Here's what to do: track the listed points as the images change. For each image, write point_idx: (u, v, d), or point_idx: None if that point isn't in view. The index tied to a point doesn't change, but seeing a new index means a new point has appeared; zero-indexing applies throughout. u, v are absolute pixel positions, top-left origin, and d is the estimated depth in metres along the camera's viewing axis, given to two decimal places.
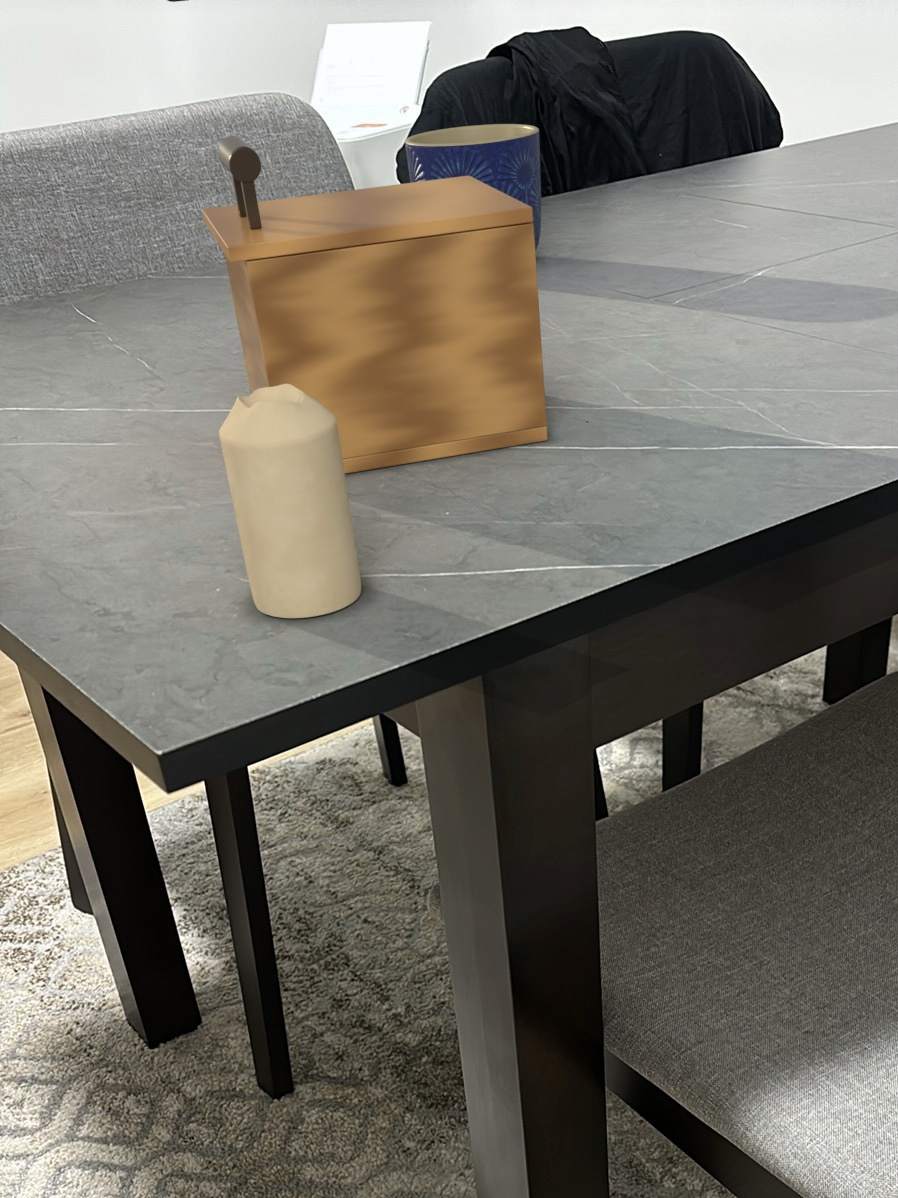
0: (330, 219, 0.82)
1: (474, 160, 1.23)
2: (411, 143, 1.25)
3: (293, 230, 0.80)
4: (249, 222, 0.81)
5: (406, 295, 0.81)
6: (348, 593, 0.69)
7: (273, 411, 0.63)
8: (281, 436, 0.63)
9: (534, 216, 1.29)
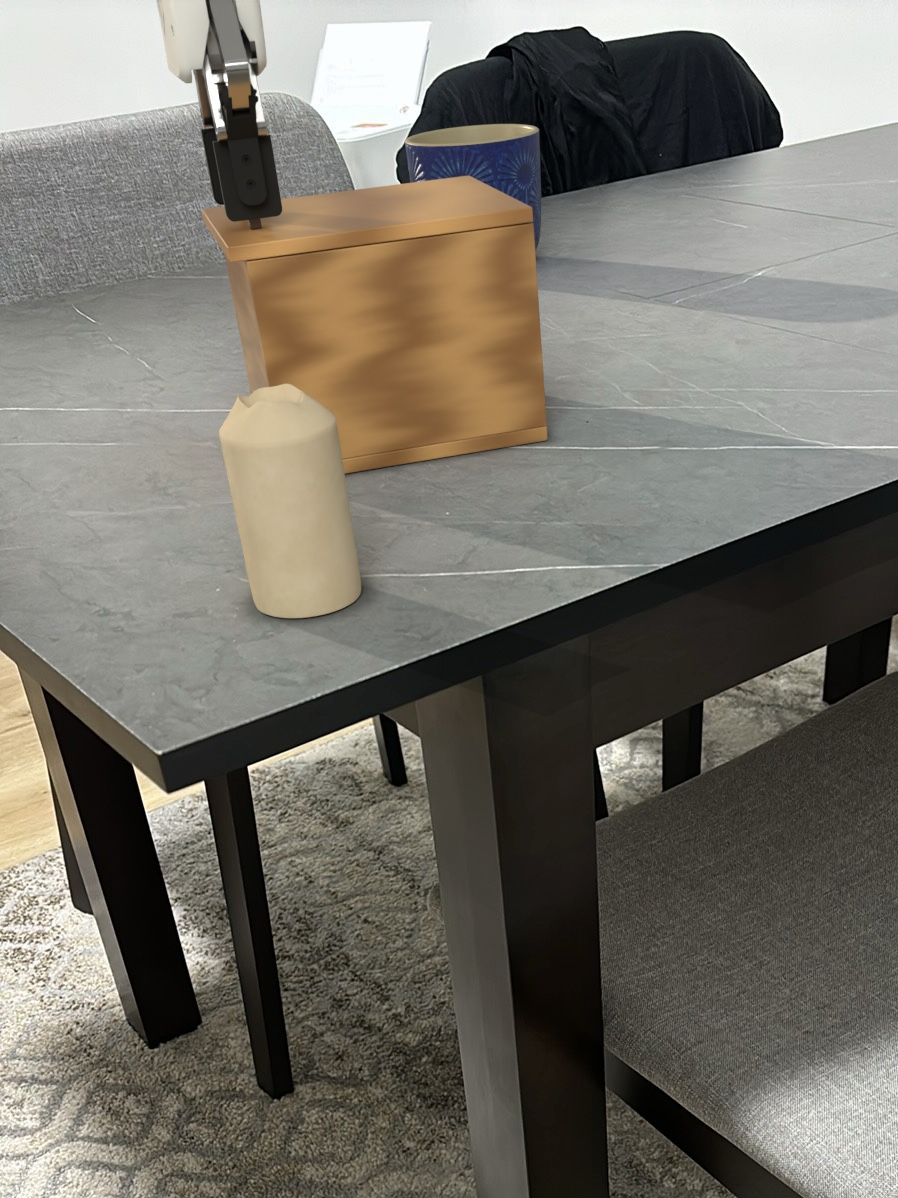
0: (330, 219, 0.82)
1: (474, 160, 1.23)
2: (411, 143, 1.25)
3: (293, 230, 0.80)
4: (249, 222, 0.81)
5: (406, 295, 0.81)
6: (348, 593, 0.69)
7: (273, 411, 0.63)
8: (281, 436, 0.63)
9: (534, 216, 1.29)
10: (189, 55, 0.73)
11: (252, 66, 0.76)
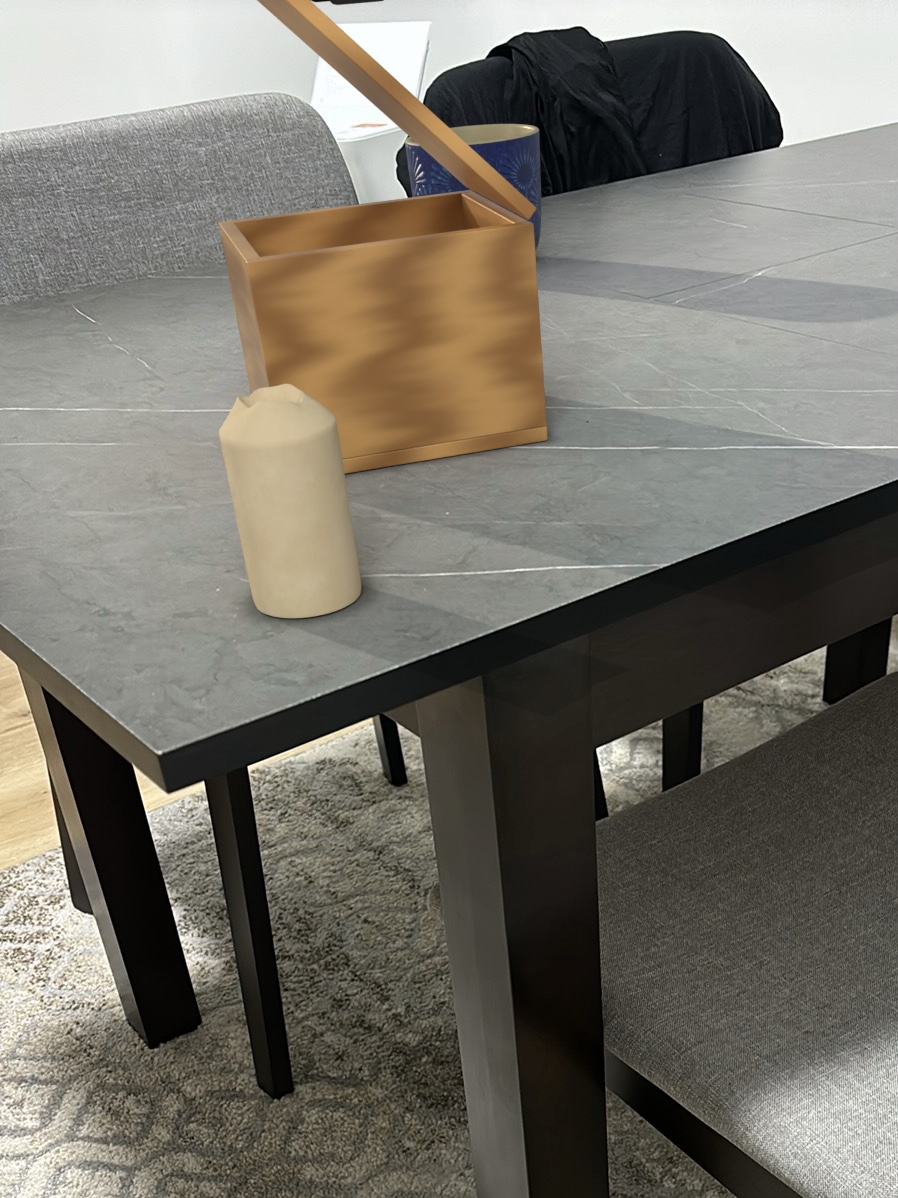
0: None
1: None
2: (411, 143, 1.25)
3: None
4: None
5: (406, 295, 0.81)
6: (348, 593, 0.69)
7: (273, 411, 0.63)
8: (281, 436, 0.63)
9: (534, 216, 1.29)
10: None
11: None
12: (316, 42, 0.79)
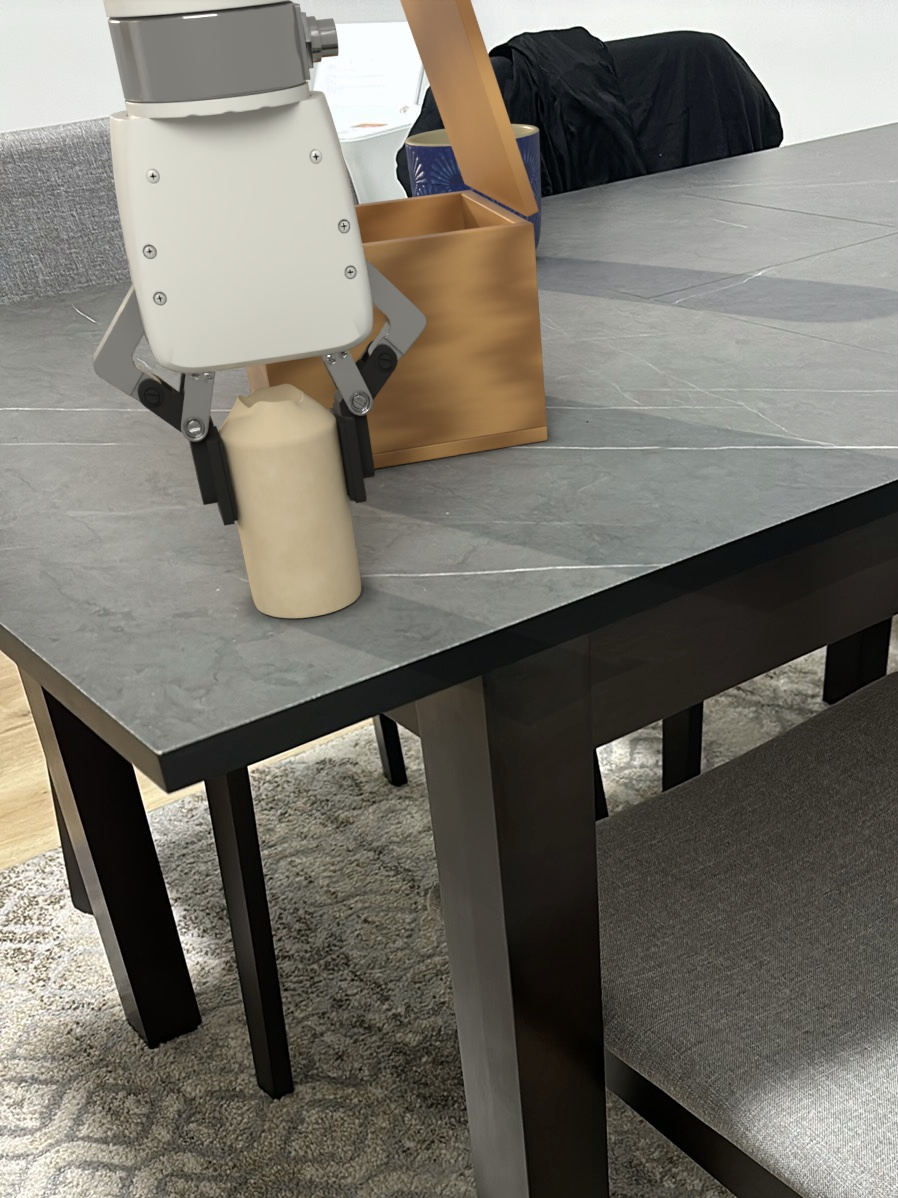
0: None
1: None
2: (411, 143, 1.25)
3: None
4: None
5: (406, 295, 0.81)
6: (348, 593, 0.69)
7: (273, 411, 0.63)
8: (281, 436, 0.63)
9: (534, 216, 1.29)
10: None
11: None
12: None
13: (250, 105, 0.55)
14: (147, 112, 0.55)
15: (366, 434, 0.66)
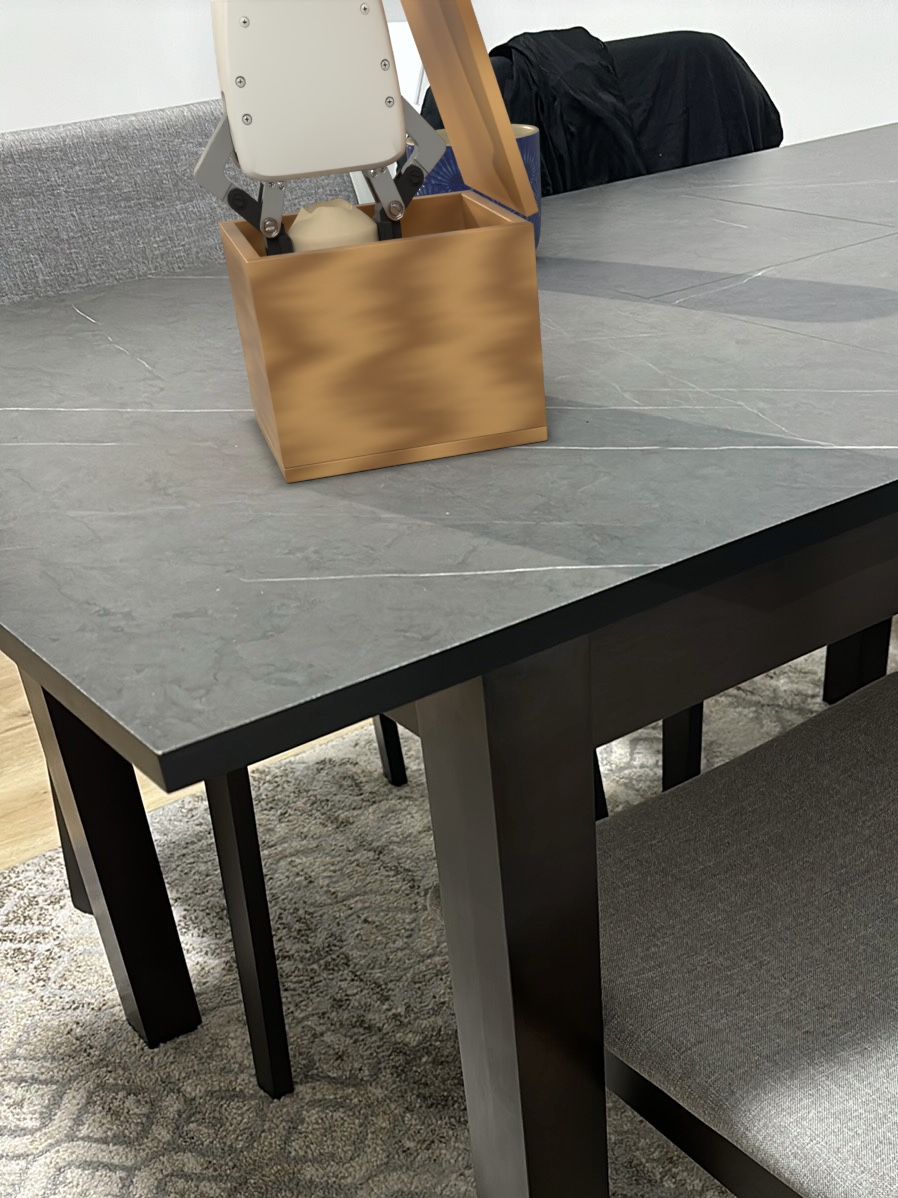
0: None
1: None
2: (411, 143, 1.25)
3: None
4: None
5: (406, 295, 0.81)
6: None
7: (330, 214, 0.82)
8: (336, 233, 0.82)
9: (534, 216, 1.29)
10: None
11: None
12: None
13: None
14: None
15: (400, 237, 0.85)
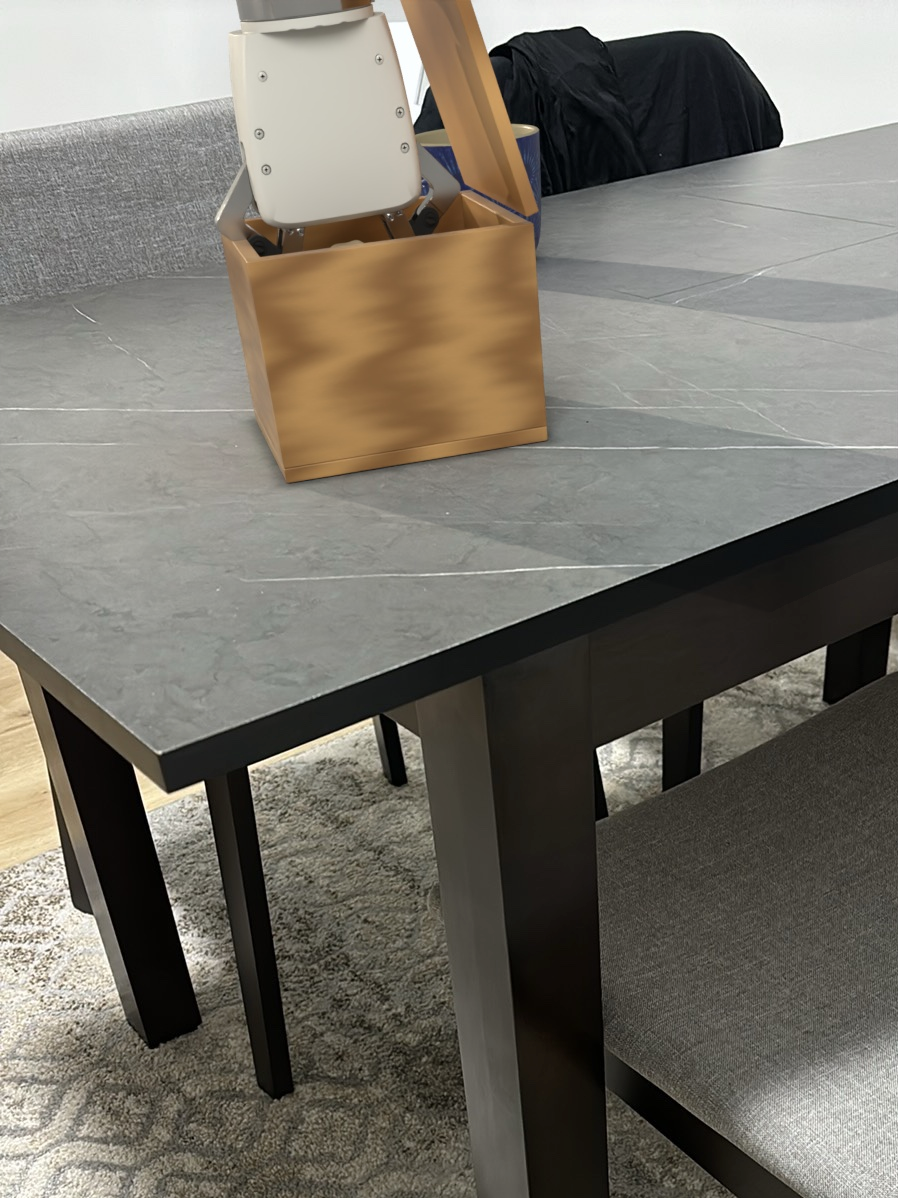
0: None
1: None
2: None
3: None
4: None
5: (406, 295, 0.81)
6: None
7: None
8: None
9: (534, 216, 1.29)
10: None
11: None
12: None
13: (333, 20, 0.76)
14: (259, 28, 0.76)
15: None
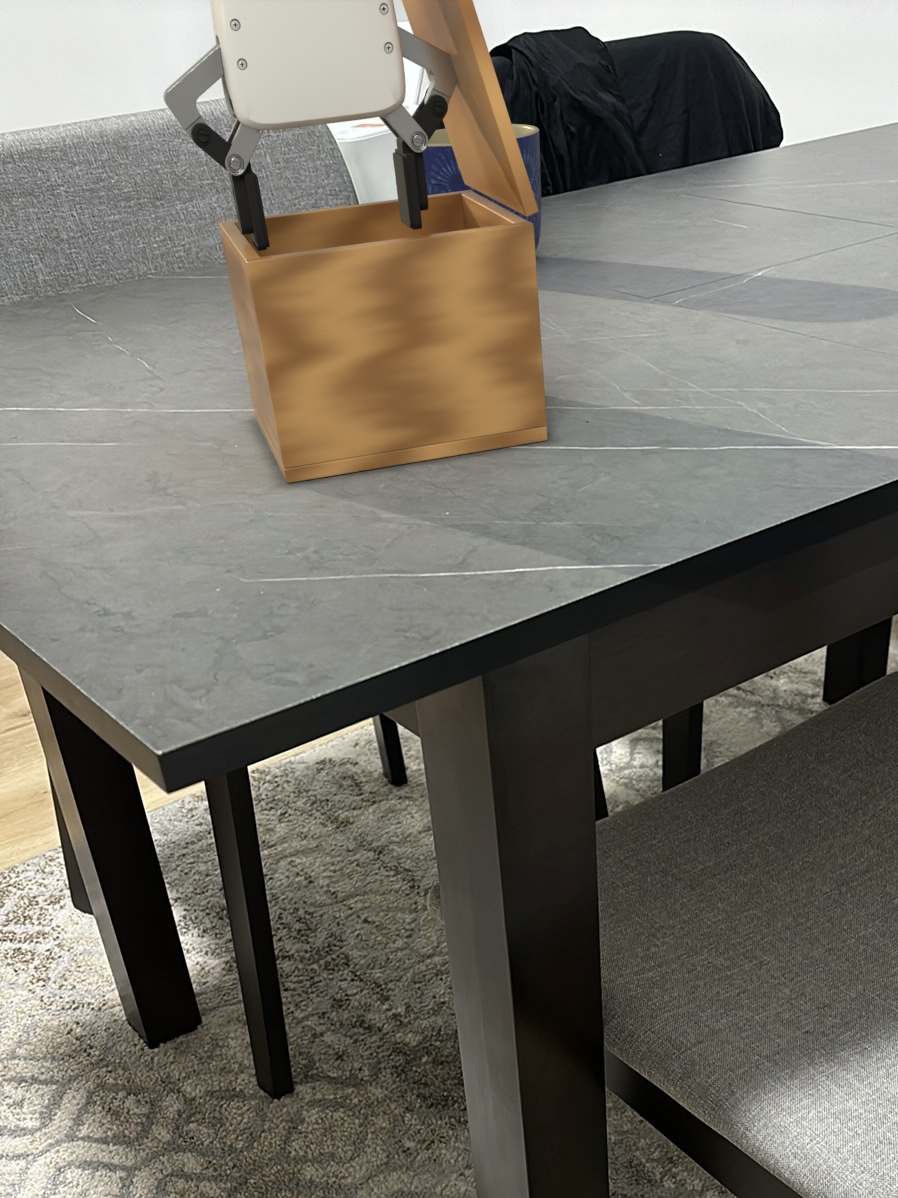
0: None
1: None
2: None
3: None
4: None
5: (406, 295, 0.81)
6: None
7: None
8: None
9: (534, 216, 1.29)
10: None
11: None
12: None
13: None
14: None
15: (422, 170, 0.83)
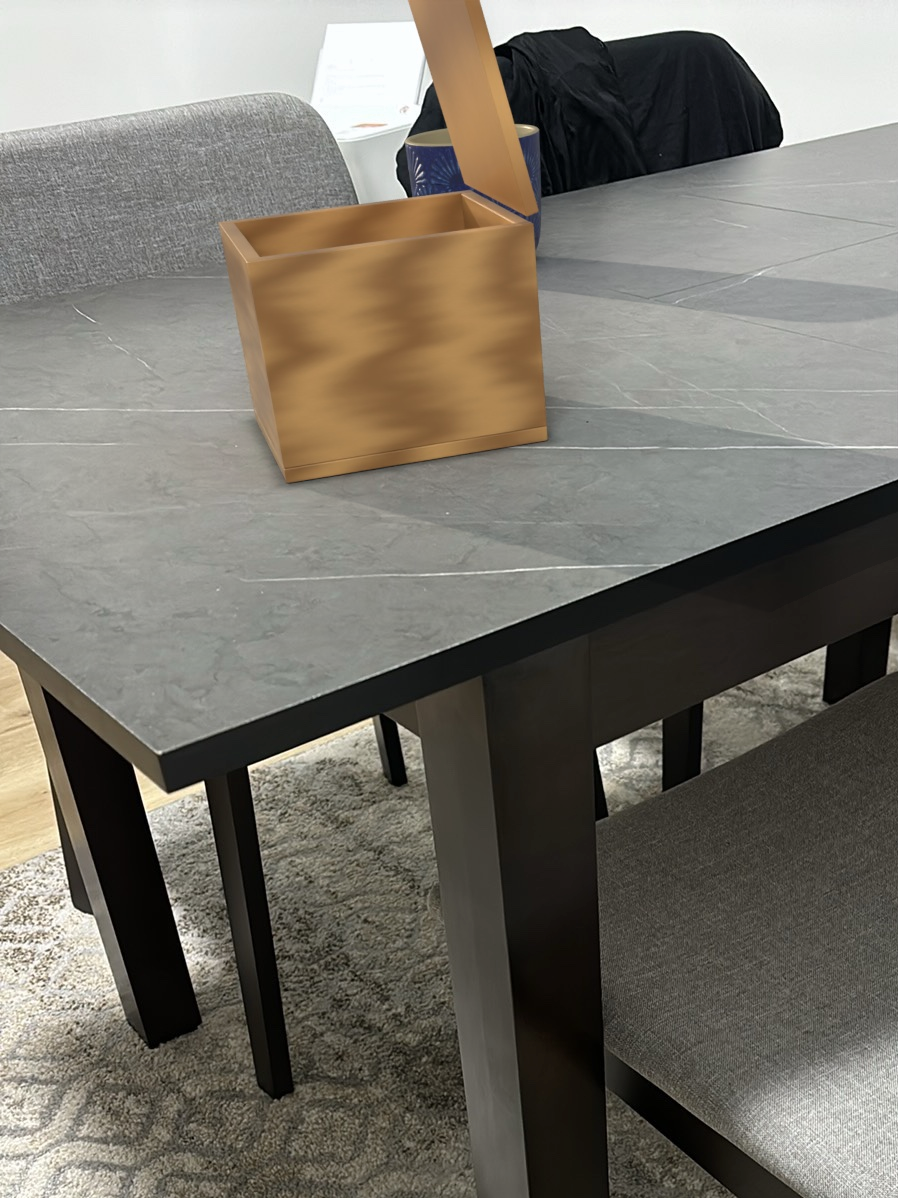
0: None
1: None
2: (411, 143, 1.25)
3: None
4: None
5: (406, 295, 0.81)
6: None
7: None
8: None
9: (534, 216, 1.29)
10: None
11: None
12: None
13: None
14: None
15: None
